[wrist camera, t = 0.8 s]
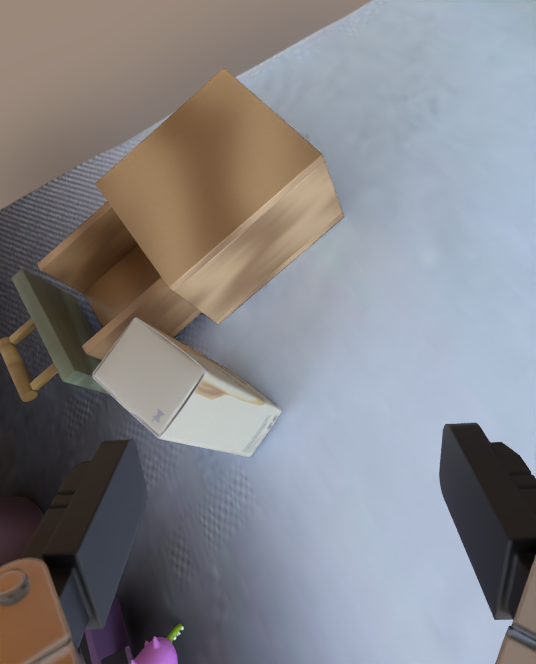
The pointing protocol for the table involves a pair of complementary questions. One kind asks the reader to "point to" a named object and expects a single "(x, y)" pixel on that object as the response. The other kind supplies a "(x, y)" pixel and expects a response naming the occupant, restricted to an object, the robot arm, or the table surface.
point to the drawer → (91, 302)
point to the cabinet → (222, 196)
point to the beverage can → (16, 526)
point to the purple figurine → (153, 660)
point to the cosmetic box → (184, 393)
